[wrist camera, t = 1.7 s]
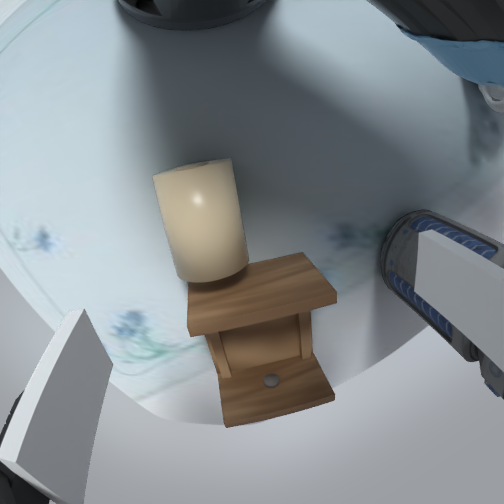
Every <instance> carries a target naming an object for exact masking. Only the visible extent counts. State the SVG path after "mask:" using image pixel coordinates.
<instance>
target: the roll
mask: <svg viewBox="0 0 504 504" xmlns="http://www.w3.org/2000/svg"><path fill="white" fill-rule="evenodd" d="M152 177H153V181H154V186H155V190H156V195H157V199H158V203H159V207H160V212H161V216H162V220H163V224H164V228H165V231H166V235H167V239H168V243H169V247H170V250H171V254H172V258H173V261H174V265H175V268H176V272H177V275H178V277H179V278H180V279H182V280H184V281H188V282H210V281H215V280H219V279H223V278H226V277H228V276H231V275H233V274H235V273H237V272H238V271H240V270H241V269H243V268H244V267H245V266H246V265H247V263H248V261H249V256H248V251H247V245H246V240H245V234H244V228H243V223H242V217H241V211H240V206H239V200H238V194H237V188H236V183H235V177H234V171H233V166H232V160H231V159H218V160H211V161H204V162H198V163H193V164H188V165H184V166H180V167H177V168H174V169H171V170H167V171H164V172H161V173H158V174H156V175H154V176H152Z"/></svg>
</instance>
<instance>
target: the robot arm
mask: <svg viewBox="0 0 504 504" xmlns="http://www.w3.org/2000/svg"><path fill="white" fill-rule="evenodd" d="M118 1H119V3H120V4H121V6H122V7H123V8H124V9H125V11H126V12H128V13H129V14H130V15H131V16H133V17H134V18H136V19H137V20H139V21H141V22H143V23H146V24H149V25H152V26H155V27H159V28H164V29H171V30H199V29H206V28H212V27H217V26H221V25H224V24H227V23H230V22H233V21H235V20H238V19H240V18H242V17H244V16H246V15H248V14H249V13H251V12H253V11H254V10H255V9H257V8H258V7H259V6H261V5H262V4H263V3H264V2H265V1H266V0H118ZM366 1H368V2H369V3H371V4H372V5H373V6H375V7H376V8H377V9H379V10H380V11H381V12H383V13H384V14H385V15H386V16H388V17H389V18H390V19H391V20H393V21H394V22H395V24H396V25H397V27H398V28H399V29H400V30H401V32H402V33H404V35H406V36H408V37H409V38H411V39H413V40H416V41H417V42H419V43H420V44H421V45H422V46H423V47H424V48H425V49H427V50H428V51H429V52H430V53H431V54H432V55H433V56H434V57H435V58H436V59H437V60H439V61H440V62H441V63H442V64H443V65H444V66H445V67H446V68H448V69H449V70H450V71H452V72H453V73H455V74H456V75H458V76H460V77H462V78H464V79H466V80H469V81H471V82H474V83H477V84H480V85H485V86H502V87H503V88H504V0H366ZM414 292H416V293H417V294H418V295H419V296H420V297H422V298H423V299H424V300H425V301H426V302H427V303H429V304H430V305H431V306H432V307H433V308H435V309H436V310H437V311H438V312H439V313H440V314H441V315H443V316H444V317H445V318H446V319H447V320H448V321H449V322H451V323H452V324H453V325H454V326H455V327H456V328H457V329H458V330H460V331H461V332H462V333H463V334H464V335H465V336H466V337H467V338H468V339H469V340H471V341H472V342H473V343H474V344H475V345H476V346H477V347H478V348H479V349H480V350H481V351H482V352H483V353H484V354H485V355H487V356H488V357H489V358H490V359H491V360H492V361H493V362H494V363H495V364H496V365H497V366H498V367H499V368H500V369H501V370H502V371H503V372H504V269H503V268H501V267H500V266H498V265H496V264H495V263H493V262H491V261H489V260H488V259H486V258H484V257H482V256H481V255H479V254H477V253H475V252H474V251H472V250H470V249H468V248H466V247H465V246H463V245H461V244H459V243H457V242H455V241H453V240H451V239H450V238H448V237H446V236H444V235H442V234H440V233H438V232H436V231H434V230H432V229H431V230H428V231H424V232H420V233H419V240H418V256H417V268H416V279H415V288H414ZM112 367H113V363H112V361H111V359H110V358H109V356H108V354H107V352H106V350H105V349H104V347H103V345H102V343H101V341H100V339H99V337H98V335H97V333H96V331H95V329H94V327H93V325H92V323H91V321H90V319H89V317H88V315H87V313H86V311H85V309H79V310H74V311H68V313H67V315H66V316H65V318H64V319H63V321H62V323H61V324H60V326H59V328H58V329H57V331H56V333H55V334H54V336H53V338H52V340H51V341H50V343H49V345H48V347H47V349H46V350H45V352H44V354H43V356H42V357H41V359H40V361H39V363H38V365H37V367H36V369H35V371H34V373H33V375H32V377H31V378H30V380H29V382H28V384H27V386H26V389H25V390H24V391H23V392H22V393H21V394H20V395H19V397H18V398H17V399H16V400H15V402H14V405H13V407H12V409H11V411H10V413H11V414H9V416H8V418H7V420H6V424H5V425H4V427H3V430H2V432H1V434H0V504H49V500H52V501H53V502H55V503H56V504H84V496H85V489H86V483H87V476H88V470H89V465H90V459H91V454H92V448H93V444H94V438H95V434H96V430H97V425H98V421H99V416H100V412H101V408H102V404H103V400H104V396H105V392H106V388H107V385H108V381H109V377H110V374H111V370H112Z"/></svg>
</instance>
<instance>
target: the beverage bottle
mask: <svg viewBox="0 0 504 504" xmlns="http://www.w3.org/2000/svg"><path fill="white" fill-rule="evenodd" d="M431 229H432V230H434V231H436V232H438V233H440V234H442V235H444V236H446V237H448V238H450V239H451V240H453V241H455V242H457V243H459V244H461V245H463V246H465V247H466V248H468V249H470V250H472V251H474V252H475V253H477V254H479V255H481V256H482V257H484V258H486V259H488V260H489V261H491V262H493V263H495V264H496V265H498V266H500V267H501V268H503V269H504V244H502V243H500V242H498V241H496V240H494V239H492V238H490V237H488V236H486V235H484V234H481V233H479V232H477V231H475V230H473V229H471V228H469V227H466V226H464V225H462V224H460V223H458V222H455V221H453V220H451V219H448V218H446V217H444V216H441V215H439V214H437V213H434V212H432V211H429V210H419V211H415V212H412V213H410V214H408V215H406V216H404V217H402V218H401V219H400V220H399V221H398V222H397V223H396V224H395V225H394V226H393V227H392V228H391V230H390V231H389V233H388V235H387V237H386V239H387V240H386V242H385V241H384V244H383V247H382V251H381V261H380V264H381V270H382V276H383V279H384V282H385V283H386V285H387V286H388V288H389V289H390V290H392V291H393V292H394V293H395V294H396V295H397V296H398V297H399V298H401V299H402V300H403V301H404V302H405V303H406V304H407V305H408V306H409V307H411V308H412V309H413V310H414V311H415V312H416V313H417V314H418V315H419V316H420V317H422V318H423V319H424V320H425V321H426V322H427V323H428V324H429V325H430V326H431V327H432V328H433V329H435V330H436V331H437V332H438V333H439V334H440V335H441V336H442V337H443V338H444V339H445V340H446V341H447V342H448V343H449V344H450V345H451V346H452V347H453V348H454V349H455V350H456V351H457V352H458V353H459V354H460V355H461V356H462V357H463V358H464V359H465V360H466V361H468V362H475V361H479V362H480V369H481V375H482V377H483V378H484V379H485V382H484V383H485V384H486V385H487V387H489V389H490V390H491V391H492V392H493V393H494V394H495V395H496V396H497V397H499V396H501V397H502V398H503V399H504V372H503V371H502V370H501V369H500V368H499V367H498V366H497V365H496V364H495V363H494V362H493V361H492V360H491V359H490V358H489V357H488V356H487V355H485V354H484V353H483V352H482V351H481V350H480V349H479V348H478V347H477V346H476V345H475V344H474V343H473V342H472V341H471V340H469V339H468V338H467V337H466V336H465V335H464V334H463V333H462V332H461V331H460V330H458V329H457V328H456V327H455V326H454V325H453V324H452V323H451V322H449V321H448V320H447V319H446V318H445V317H444V316H443V315H441V314H440V313H439V312H438V311H437V310H436V309H435V308H433V307H432V306H431V305H430V304H429V303H427V302H426V301H425V300H424V299H423V298H422V297H420V296H419V295H418V294H417V293H416V292H414V288H415V279H416V268H417V256H418V240H419V233H420V232H424V231H428V230H431Z"/></svg>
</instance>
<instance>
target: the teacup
mask: <svg viewBox="0 0 504 504" xmlns="http://www.w3.org/2000/svg"><path fill="white" fill-rule="evenodd" d="M478 87H479V90H480V92H481V93H483V96H484V98H485V100H486V102H487V104H488V105H489V107H490V108H491V109H492V110H494V111H496V112H499V113H503V112H504V88H503V87H502V86H485V85H480V84H478ZM491 97H493V98H495V99H499V100H501V101H496V102H495V101H493V100H492V99H491Z"/></svg>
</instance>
